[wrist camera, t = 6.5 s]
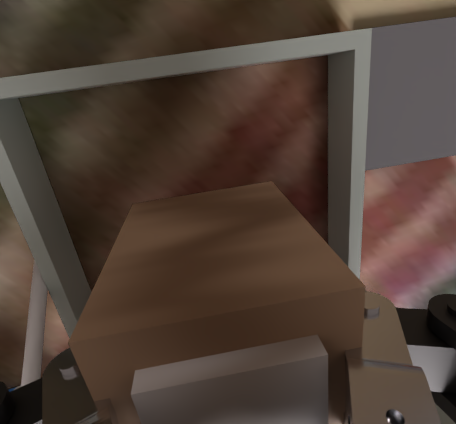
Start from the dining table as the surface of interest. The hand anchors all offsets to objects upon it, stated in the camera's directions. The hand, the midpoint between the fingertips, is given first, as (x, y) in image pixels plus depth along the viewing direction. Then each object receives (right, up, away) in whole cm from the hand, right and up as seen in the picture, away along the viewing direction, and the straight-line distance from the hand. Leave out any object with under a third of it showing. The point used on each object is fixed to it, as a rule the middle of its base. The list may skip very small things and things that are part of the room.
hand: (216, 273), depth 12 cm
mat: (+12, +9, +7) cm, 17 cm away
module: (0, +1, +1) cm, 2 cm away
